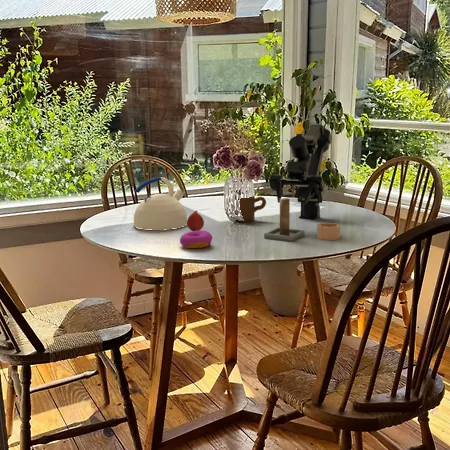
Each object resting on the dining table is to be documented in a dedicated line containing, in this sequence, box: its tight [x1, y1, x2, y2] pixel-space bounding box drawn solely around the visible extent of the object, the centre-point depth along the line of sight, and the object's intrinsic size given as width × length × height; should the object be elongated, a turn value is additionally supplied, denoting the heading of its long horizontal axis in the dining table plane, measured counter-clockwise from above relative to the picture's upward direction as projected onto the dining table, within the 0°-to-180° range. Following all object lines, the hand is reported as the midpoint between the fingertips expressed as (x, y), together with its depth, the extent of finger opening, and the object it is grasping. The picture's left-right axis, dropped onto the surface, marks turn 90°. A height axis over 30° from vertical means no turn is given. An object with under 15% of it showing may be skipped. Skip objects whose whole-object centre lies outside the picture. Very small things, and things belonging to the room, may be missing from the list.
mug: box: [240, 195, 267, 223], centre depth 200 cm, size 12×8×9 cm, turn 90°
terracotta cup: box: [316, 222, 341, 241], centre depth 172 cm, size 7×7×4 cm
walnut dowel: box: [279, 197, 291, 236], centre depth 172 cm, size 3×3×12 cm
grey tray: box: [263, 227, 305, 243], centre depth 174 cm, size 10×10×2 cm
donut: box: [179, 229, 213, 249], centre depth 165 cm, size 10×10×4 cm
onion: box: [187, 210, 205, 232], centre depth 182 cm, size 6×6×8 cm
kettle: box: [133, 176, 188, 230], centre depth 194 cm, size 20×21×18 cm
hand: (291, 202), depth 179 cm, fingers open, 9 cm apart
